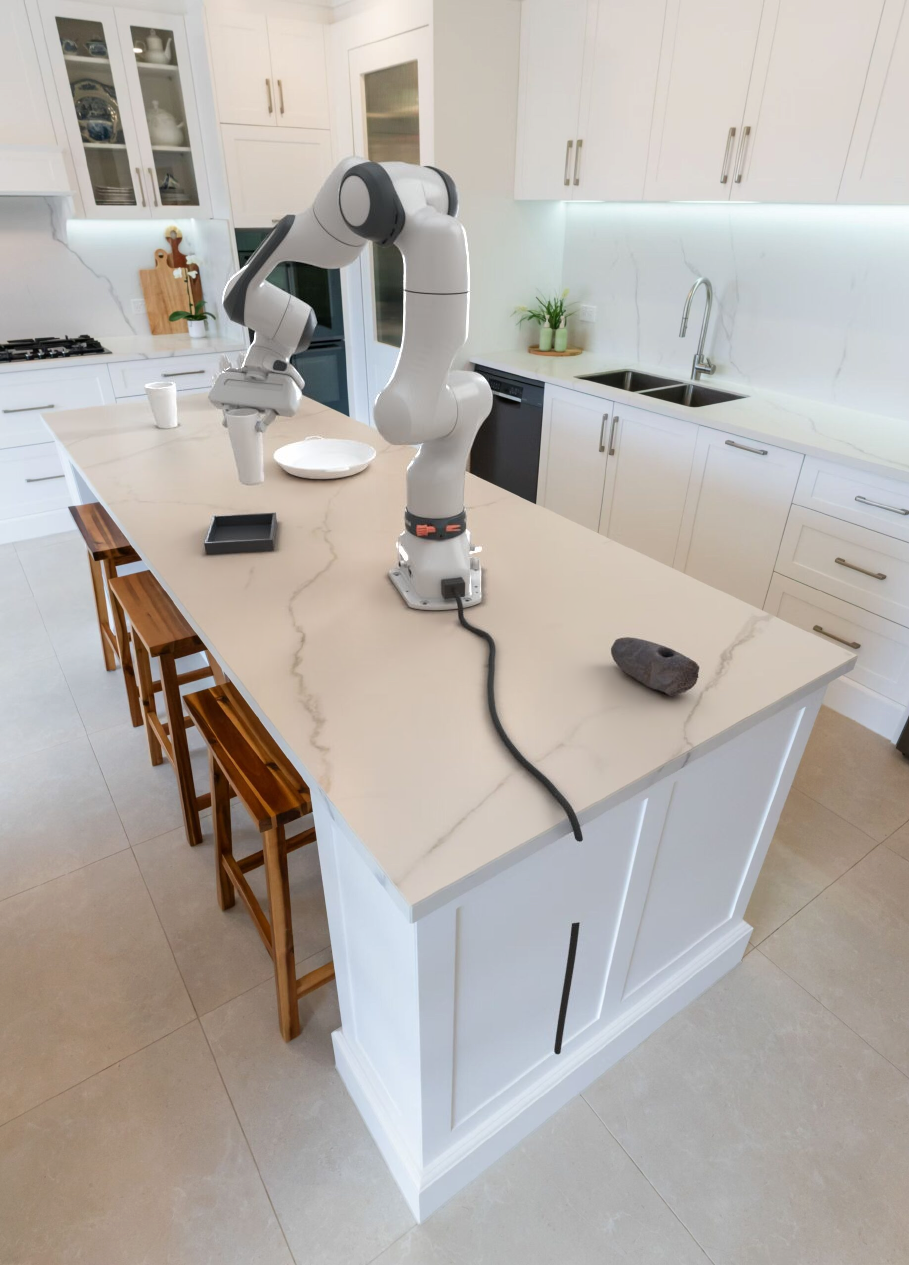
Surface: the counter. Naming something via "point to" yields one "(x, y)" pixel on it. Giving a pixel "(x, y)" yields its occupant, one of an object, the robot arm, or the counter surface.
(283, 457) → the pan
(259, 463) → the white tall cup
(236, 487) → the counter surface
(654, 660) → the perforated stone tool
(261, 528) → the baking tray
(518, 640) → the counter surface
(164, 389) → the foam cup
